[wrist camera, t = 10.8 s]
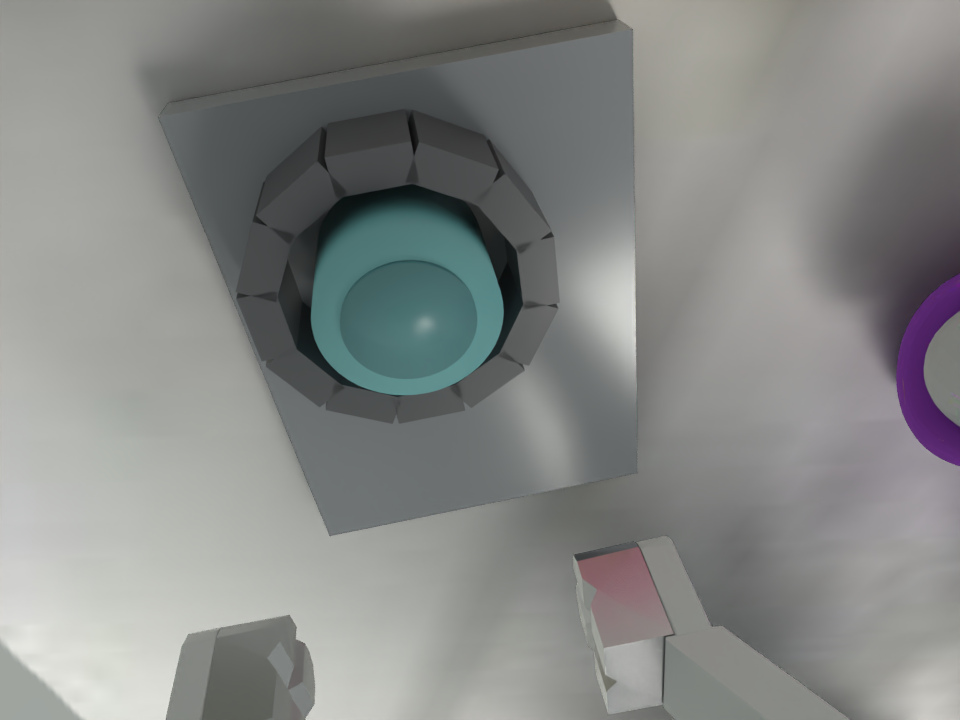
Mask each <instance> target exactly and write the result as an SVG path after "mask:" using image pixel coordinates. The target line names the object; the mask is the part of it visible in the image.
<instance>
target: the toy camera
mask: <svg viewBox="0 0 960 720" xmlns="http://www.w3.org/2000/svg"><path fill="white" fill-rule="evenodd" d="M896 382H897V392H898V398H899V402H900V406H901V409H902V413H903V415H904V418H905V420H906V422H907V424H908V426H909V428H910V429H911V431H912V432H913V434H914V435H915V437H916V438H917V439H918V440H919V442H920V443H921V444H922V445H923V446H924V447H925V448H926V449H928V450H929V451H930V452H932V453H933V454H934V455H936V456H938V457H939V458H941V459H943V460H945V461H947V462H949V463H952V464H955V465H958V466H960V274H958V275H956V276H954V277H952V278H951V279H949V280H948V281H946V282H945V283H943V284H942V285H941V286H939V287H938V288H937V289H936V290H934V291H933V292H932V293H931V294H930V295H929V296H928V297H927V298H926V299H925V301H924V302H923V303H922V304H921V306H920V307H919V308H918V309H917V311H916V312H915V314H914V315H913V317H912V318H911V320H910V322H909V324H908V326H907V328H906V331H905V333H904V336H903V339H902V342H901V345H900V349H899V355H898V362H897V375H896Z"/></svg>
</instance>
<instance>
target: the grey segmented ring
mask: <svg viewBox="0 0 960 720" xmlns="http://www.w3.org/2000/svg"><path fill="white" fill-rule="evenodd" d="M409 184H414V185H417V186H420V187H424V188H427V189H430V190H433V191H436V192H439V193H442V194H445V195H448V196H451V197H454V198H458V199H461V200H464V201H467V202H470V203H473V204H476V205H478V207H479V208H480V209H481V210H482V211H483V212H484V213H485V215H486V216H487V217H488V218H489V219H490V220H491V222H492V223H493V224H494V225H495V226H496V227H497V228H498V230H499V231H500V232H501V233H502V234H503V235H504V238H505V246H506V254H507V264H506V266H505V268H504V270H503V272H502V275H501V277H500V279H499V281H498V285H499V288H500V291H501V295H502V300H503V309H504V315H503V324H502V328H501V332H500V335H499V338H498V340H497V342H496V344H495V346H494V348H493V350H492V351H491V353H490V354H489V355H488V357H487V358H486V359H485V361H484V362H483V363H482V364H481V365H480V366H479V367H478V368H477V369H476V370H474V371H473V372H472V373H471V374H469V375H468V376H466V377H465V378H463V379H462V380H460V381H458V382H456V383H454V384H452V385H450V386H448V387H445V388H443V389H440V390H437V391H433V392H429V393H424V394H417V395H391V394H385V393H379V392H376V391H372V390H369V389H366V388H364V387H361V386H359V385H357V384H355V383H353V382H351V381H349V380H348V379H346V378H345V377H344V376H342V375H341V374H339V373H338V372H337V371H336V370H335V369H334V368H333V367H332V366H331V365H330V364H329V363H328V362H327V360H326V359H325V358H324V356H323V355H322V353H321V352H320V350H319V348H318V346H317V343H316V341H315V339H314V335H313V331H312V325H311V308H310V307H308V306H307V305H306V304H305V303H304V302H302V299H301V296H300V293H299V290H298V288H297V285H296V282H295V279H294V276H293V273H292V270H291V267H290V264H289V261H288V256H289V253H290V249H291V246H292V242H293V240H294V239H295V238H296V237H297V236H298V235H299V234H301V233H302V232H303V231H304V230H305V229H306V228H308V227H309V226H310V225H311V224H312V223H313V222H315V221H316V220H317V219H318V218H319V217H320V216H321V215H323V214H324V213H325V212H326V211H327V210H328V209H330V208H331V207H332V206H333V205H334V204H335V203H337V202H338V201H339V200H340V199H341V198H342V197H346V196H351V195H356V194H362V193H367V192H372V191H377V190H383V189H388V188H393V187H398V186H404V185H409ZM551 231H552V230H551V228H550V226H549V224H548V222H547V221H546V219H545V217H544V215H543V213H542V211H541V209H540V207H539V205H538V203H537V201H536V199H535V197H534V195H533V193H532V191H531V190H530V189H529V188H528V186H527V185H526V184H525V183H524V182H523V180H522V179H521V178H520V177H519V175H518V174H517V173H516V172H515V170H514V169H513V168H512V167H511V165H510V164H509V163H508V162H507V160H506V159H505V158H504V157H503V155H502V154H501V153H500V152H499V150H498V149H497V148H496V147H495V145H494V144H493V143H492V142H491V140H490V139H489V140H488V141H486V139H485V137H484V135H482V134H479V133H477V132H474V131H471V130H468V129H466V128H463V127H460V126H457V125H454V124H452V123H449V122H446V121H443V120H440V119H438V118H435V117H432V116H429V115H427V114H424V113H421V112H418V111H415V110H413V109H412V112H411V115H410V118H409V121H407V116H406V111H405V109H401V110H396V111H391V112H385V113H380V114H375V115H369V116H364V117H359V118H353V119H348V120H343V121H337V122H332V123H328V128H327V132H326V131H325V130H324V129H323V128H322V127H320V128H319V129H318V130H317V131H316V132H315V133H314V134H313V135H311V136H310V137H309V138H308V139H307V140H306V141H305V142H304V143H303V144H302V145H300V146H299V147H298V148H297V149H296V150H295V151H294V152H293V153H292V154H291V155H289V156H288V157H287V158H286V159H285V160H284V161H283V162H282V163H281V164H279V165H278V166H277V167H276V168H275V169H274V170H273V171H272V172H271V173H270V174H268V175H267V177H266V181H265V182H263V185H262V189H261V192H260V196H259V199H258V203H257V207H256V210H255V214H254V217H253V221H252V225H251V229H250V234H249V238H248V242H247V246H246V250H245V254H244V259H243V263H242V267H241V271H240V275H239V280H238V284H237V288H236V292H237V297H236V300H237V302H238V305H239V307H240V310H241V312H242V315H243V317H244V319H245V322H246V324H247V327H248V329H249V332H250V334H251V337H252V339H253V342H254V344H255V347H256V349H257V351H258V354H259V356H260V359H261V361H266V367H267V368H268V369H269V370H271V371H272V372H273V373H275V374H276V375H277V376H279V377H280V378H281V379H283V380H284V381H285V382H287V383H288V384H289V385H291V386H292V387H293V388H295V389H296V390H297V391H299V392H300V393H301V394H302V395H304V396H305V397H306V398H308V399H309V400H310V401H312V402H313V403H314V404H316V405H317V406H318V407H321V406H322V405H323V404H325V403H326V410H328V411H332V412H337V413H342V414H347V415H352V416H357V417H361V418H366V419H371V420H376V421H381V422H385V423H390V424H393V422H394V419H395V417H396V415H397V419H398V422H399V424H401V423H406V422H411V421H416V420H421V419H426V418H431V417H436V416H441V415H446V414H451V413H456V412H461V411H465V406H464V402H465V403H466V404H467V405H468V406H469V407H470V408H472V407H474V406H475V405H476V404H478V403H479V402H481V401H482V400H484V399H485V398H486V397H488V396H489V395H491V394H492V393H493V392H495V391H496V390H498V389H499V388H501V387H502V386H503V385H505V384H506V383H508V382H509V381H511V380H512V379H513V378H515V377H516V376H518V375H519V374H520V373H522V372H523V371H525V369H524V366H523V364H524V365H528V366H529V365H530V363H531V361H532V359H533V357H534V355H535V353H536V351H537V350H538V348H539V346H540V344H541V342H542V340H543V338H544V336H545V334H546V332H547V330H548V328H549V326H550V325H551V323H552V321H553V319H554V317H555V315H556V313H557V311H558V309H559V308H558V306H557V304H556V303H560V298H559V286H558V275H557V263H556V252H555V240H554V236H553V234H552V232H551Z"/></svg>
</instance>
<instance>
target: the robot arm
mask: <svg viewBox="0 0 960 720" xmlns="http://www.w3.org/2000/svg"><path fill="white" fill-rule="evenodd" d="M573 568H574V573H575V576H576V579H577V583H578V584H577V586H576V587H575V588H576V596H577V603H578V608H579V614H580V619H581V622H582V626H583V630H584V634H585V637H586V641H587V645H588V647H589V648H591V649H592V650H593V651H594V660H595V670H596V676H597V679H598V682H599V686H600V689H601V693H602V696H603V699H604V703H605V706H606V709H607V713H608V715H611V714H616V713H621V712H627V711H632V710H637V709H643V708H648V707H654V706H659V705H663V708H664V709H665V710H666V711H667V712H668V713H669V714H670V715H671V716H672V717H673V718H674V719H675V720H850V719H849V718H847V717H846V716H845V715H843V714H842V713H841V712H839V711H838V710H837V709H835V708H834V707H832V706H831V705H830V704H828V703H827V702H826V701H824V700H823V699H821V698H820V697H819V696H817V695H816V694H815V693H813V692H812V691H811V690H809V689H808V688H806V687H805V686H804V685H802V684H801V683H800V682H798V681H797V680H795V679H794V678H793V677H791V676H790V675H789V674H787V673H786V672H785V671H783V670H782V669H780V668H779V667H778V666H776V665H775V664H774V663H772V662H771V661H770V660H768V659H767V658H765V657H764V656H763V655H761V654H760V653H759V652H757V651H756V650H754V649H753V648H752V647H750V646H749V645H748V644H746V643H745V642H744V641H742V640H741V639H739V638H738V637H737V636H735V635H734V634H733V633H731V632H730V631H728V630H727V629H726V628H724V627H723V626H717V627H712V626H711V624H710V621H709V619H708V617H707V615H706V613H705V611H704V608H703V606H702V604H701V602H700V600H699V598H698V595H697V593H696V591H695V589H694V587H693V584H692V582H691V580H690V578H689V576H688V574H687V571H686V569H685V567H684V565H683V563H682V561H681V558H680V556H679V554H678V552H677V550H676V547H675V545H674V543H673V541H672V540H671V539H670V538H669V537H668V536H661V537H656V538H652V539H647V540H643V541H639V542H634V541H633V542H629V543H624V544H620V545H615V546H611V547H606V548H602V549H598V550H593V551H589V552H584V553H580V554H575V555H573ZM296 628H297V627H296V625H295V623H294V622H293V620H292V618H291V617H290V615H286V616H281V617H276V618H270V619H265V620H260V621H254V622H249V623H244V624H238V625H233V626H228V627H221V628H216V629H211V630H207V631H202V632H197V633H192V634H188V636H187V638H186V640H185V641H184V643H183V645H182V648H181V652H180V657H179V661H178V666H177V670H176V675H175V679H174V684H173V688H172V693H171V697H170V702H169V706H168V711H167V715H166V720H305V718H306V716H307V715H308V713H309V712H310V710H311V709H312V707H313V706H314V702H315V680H314V670H313V663H312V660H311V656H310V653H309V651H308V649H307V646H306V644H305V643H303V642H301V641H299V640H296Z"/></svg>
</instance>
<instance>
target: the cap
mask: <svg viewBox="0 0 960 720" xmlns="http://www.w3.org/2000/svg"><path fill="white" fill-rule="evenodd" d="M503 315H504V309H503V300H502V295H501V291H500V288H499V285H498V282H497V278H496V275H495V272H494V269H493V266H492V263H491V260H490V257H489V254H488V251H487V247H486V244H485V241H484V238H483V235H482V232H481V229H480V226H479V224H478V221H477V219H476V217H475V216H474V214H473V212H472V211H471V209H470V208H469V207H468V205H467V204H466V203H465V202H464V201H463V200H461V199H458V198H454V197H451V196H448V195H445V194H442V193H439V192H436V191H433V190H430V189H427V188H424V187H420V186H417V185H414V184H409V185H404V186H398V187H393V188H388V189H383V190H377V191H372V192H367V193H362V194H356V195H351V196H346V197H342V198H341V199H340V200H339V201H338V202H337V203H335V204H334V206H333V207H332V208H331V210H330V211H329V212H328V214H327V216H326V218H325V219H324V221H323V224H322V226H321V229H320V232H319V236H318V241H317V251H316V262H315V273H314V285H313V296H312V307H311V325H312V331H313V335H314V339H315V341H316V343H317V346H318V348H319V350H320V352H321V353H322V355H323V356H324V358H325V359H326V360H327V362H328V363H329V364H330V365H331V366H332V367H333V368H334V369H335V370H336V371H337V372H338V373H339V374H341V375H342V376H344V377H345V378H346V379H348V380H349V381H351V382H353V383H355V384H357V385H359V386H361V387H364V388H366V389H369V390H372V391H376V392H379V393H385V394H391V395H417V394H424V393H429V392H433V391H437V390H440V389H443V388H445V387H448V386H450V385H452V384H454V383H456V382H458V381H460V380H462V379H463V378H465V377H466V376H468V375H469V374H471V373H472V372H473V371H474V370H476V369H477V368H478V367H479V366H480V365H481V364H482V363H483V362H484V361H485V359H486V358H487V357H488V355H489V354H490V353H491V351H492V350H493V348H494V346H495V344H496V342H497V340H498V338H499V335H500V332H501V328H502V324H503Z"/></svg>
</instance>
